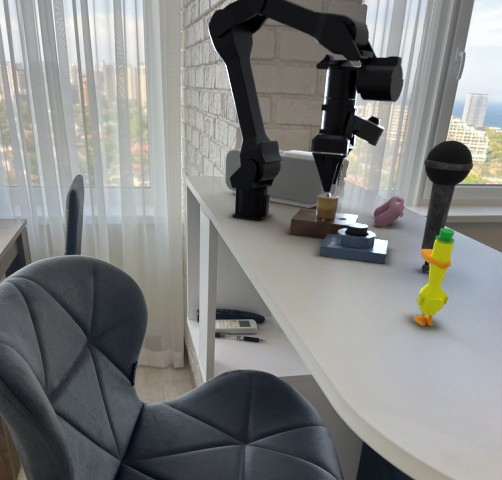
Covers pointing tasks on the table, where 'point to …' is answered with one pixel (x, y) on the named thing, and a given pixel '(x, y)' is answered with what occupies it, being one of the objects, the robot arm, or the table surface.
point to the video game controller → (389, 211)
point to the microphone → (443, 185)
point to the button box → (354, 247)
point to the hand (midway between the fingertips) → (330, 187)
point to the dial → (326, 206)
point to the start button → (357, 229)
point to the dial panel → (319, 223)
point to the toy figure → (435, 277)
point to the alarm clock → (288, 178)
